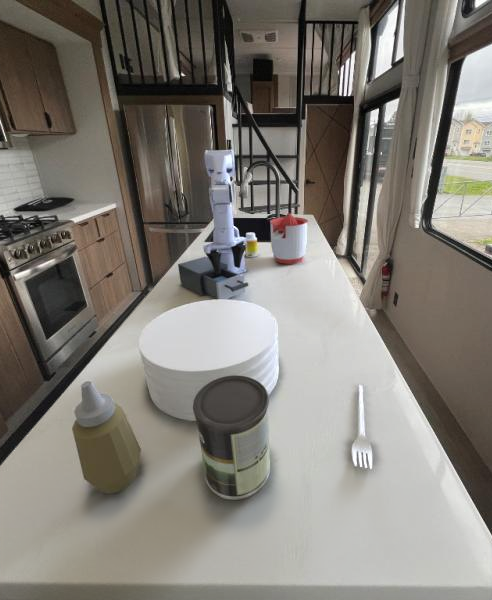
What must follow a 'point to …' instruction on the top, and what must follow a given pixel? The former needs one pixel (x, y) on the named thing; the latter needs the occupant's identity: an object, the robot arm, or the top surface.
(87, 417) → the squeeze bottle
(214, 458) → the coffee can
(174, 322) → the plate stack
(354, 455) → the fork
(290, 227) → the citrus juicer
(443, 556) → the top surface
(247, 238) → the supplement bottle
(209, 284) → the grey drawer
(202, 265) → the small drawer box
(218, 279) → the block
